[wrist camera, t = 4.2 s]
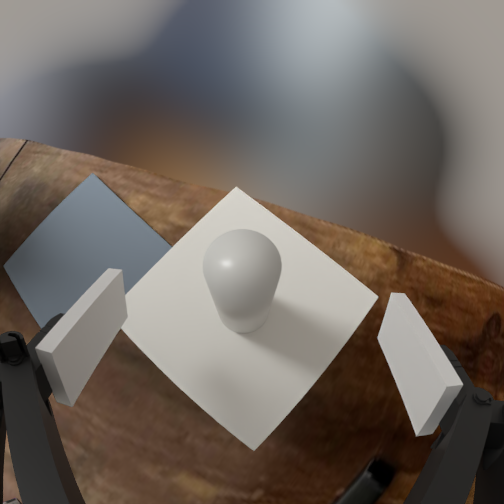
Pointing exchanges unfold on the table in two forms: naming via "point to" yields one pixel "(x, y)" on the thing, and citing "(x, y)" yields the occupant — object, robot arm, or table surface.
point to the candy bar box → (12, 501)
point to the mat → (82, 250)
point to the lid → (245, 315)
